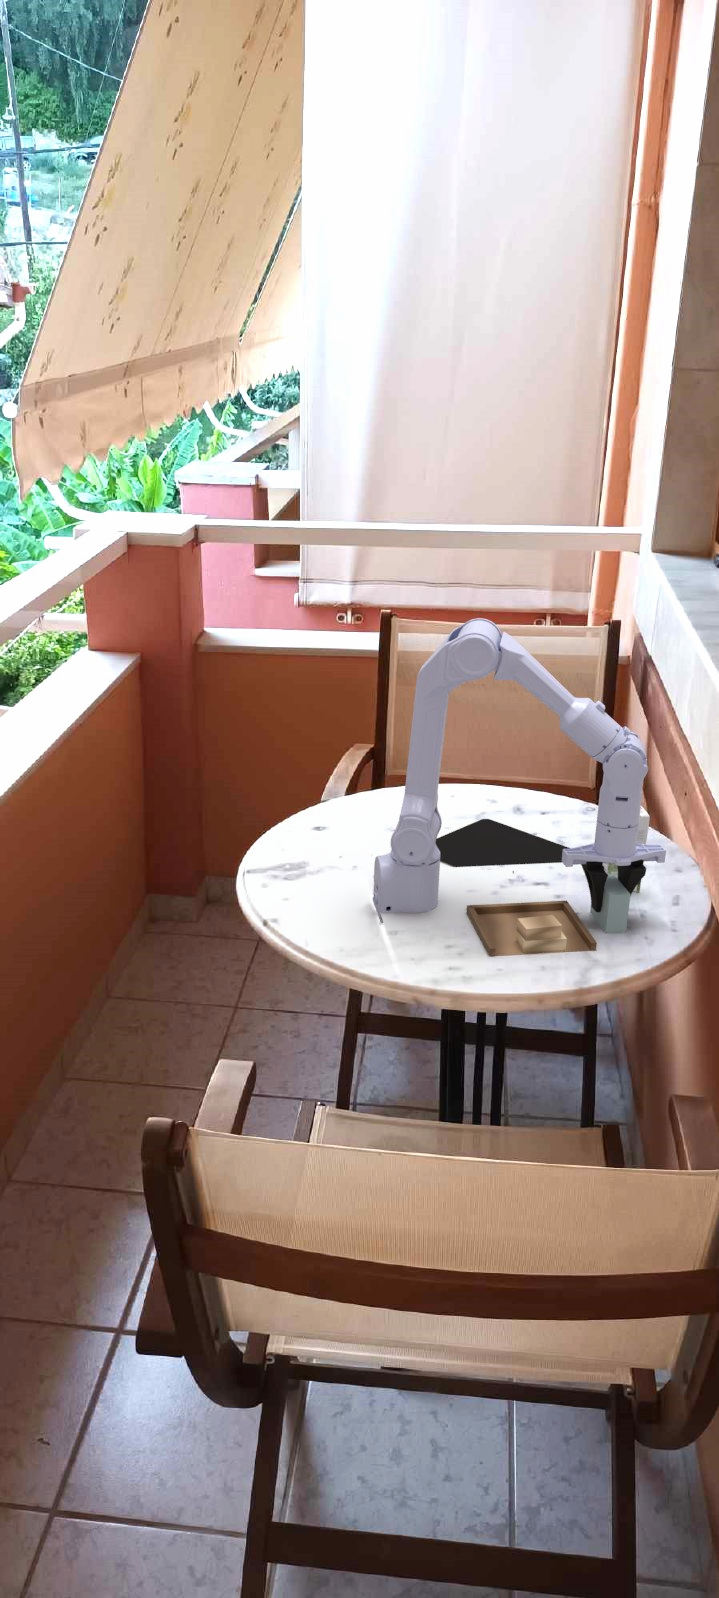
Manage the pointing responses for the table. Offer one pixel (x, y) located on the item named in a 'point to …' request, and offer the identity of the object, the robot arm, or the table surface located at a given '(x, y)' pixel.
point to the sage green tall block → (613, 907)
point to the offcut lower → (542, 944)
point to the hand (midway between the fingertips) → (608, 908)
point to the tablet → (495, 846)
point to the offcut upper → (539, 927)
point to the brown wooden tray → (501, 919)
